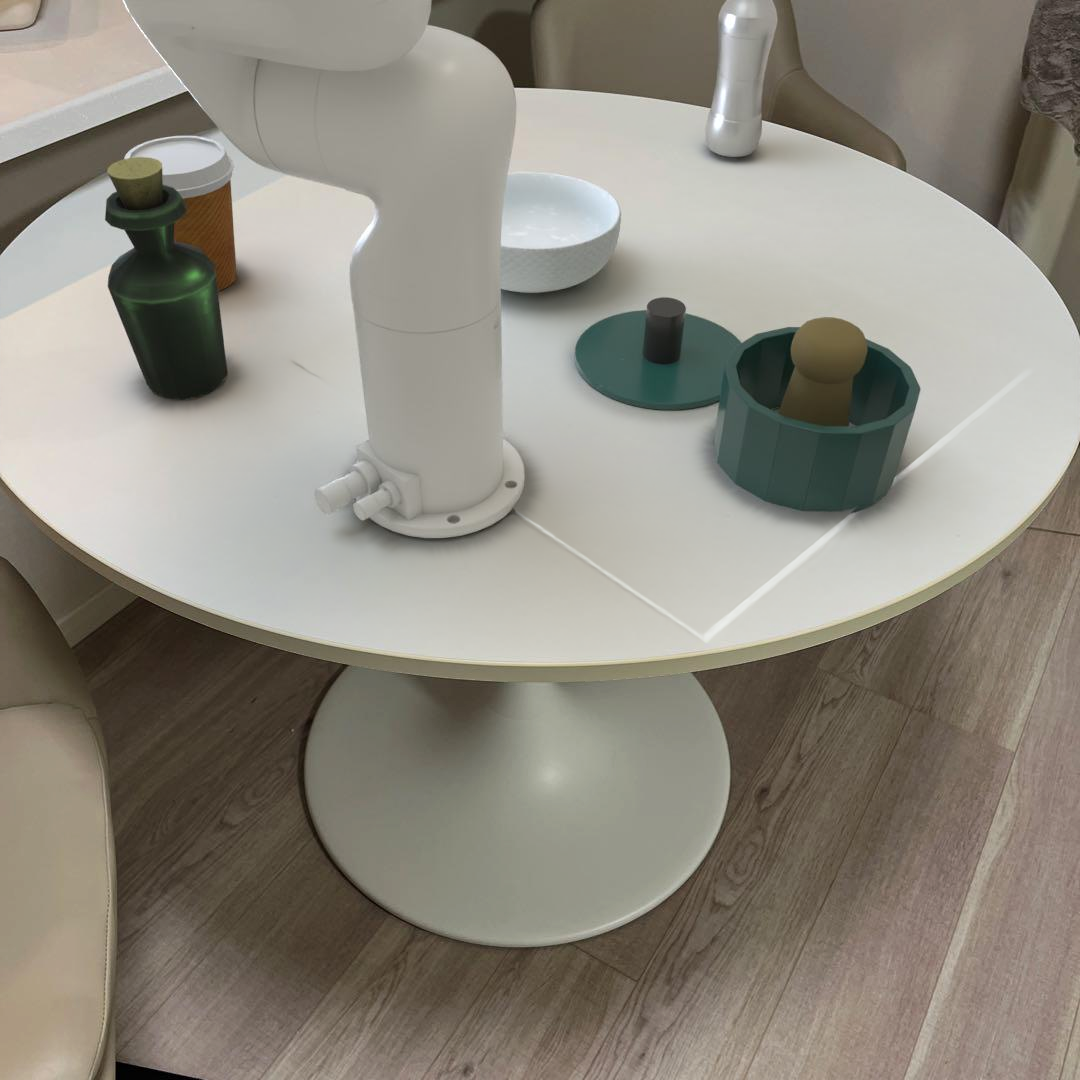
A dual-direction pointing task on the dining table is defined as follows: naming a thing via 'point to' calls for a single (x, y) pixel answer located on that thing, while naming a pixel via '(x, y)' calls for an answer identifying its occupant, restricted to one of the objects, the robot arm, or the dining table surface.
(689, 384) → the lid
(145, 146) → the disposable coffee cup
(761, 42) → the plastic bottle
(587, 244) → the cereal bowl
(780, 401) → the pot
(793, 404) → the olive brown pawn
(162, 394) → the potion bottle
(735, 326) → the dining table surface
